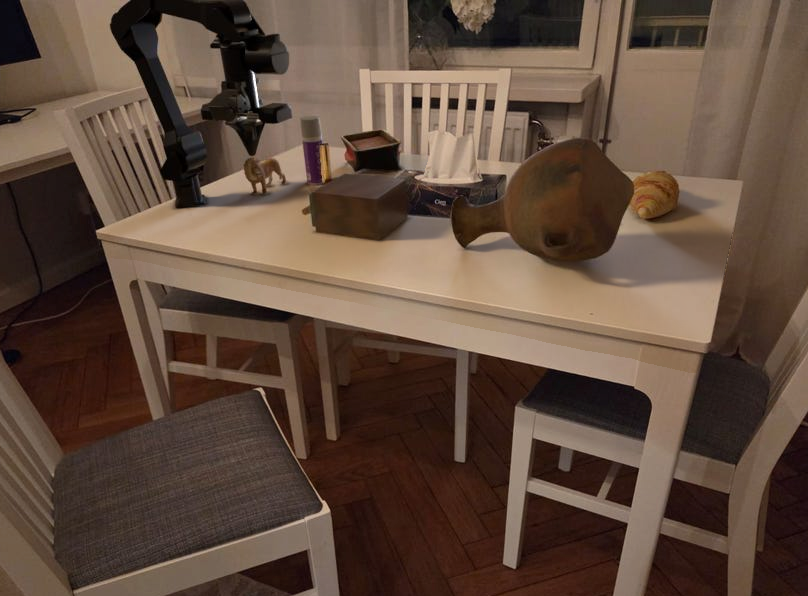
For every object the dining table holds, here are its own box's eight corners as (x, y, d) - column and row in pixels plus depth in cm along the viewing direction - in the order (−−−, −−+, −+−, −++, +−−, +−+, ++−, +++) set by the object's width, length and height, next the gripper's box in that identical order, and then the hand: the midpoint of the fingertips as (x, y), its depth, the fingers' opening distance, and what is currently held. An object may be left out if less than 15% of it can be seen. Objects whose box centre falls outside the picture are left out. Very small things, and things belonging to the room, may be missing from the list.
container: (323, 185, 151) (316, 120, 143) (304, 185, 152) (297, 120, 143) (328, 179, 154) (322, 115, 146) (310, 179, 155) (303, 115, 147)
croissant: (657, 242, 120) (686, 208, 115) (612, 213, 121) (639, 179, 115) (665, 204, 136) (691, 173, 131) (625, 179, 137) (649, 147, 131)
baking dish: (350, 185, 156) (351, 146, 149) (338, 157, 169) (339, 119, 163) (406, 183, 159) (409, 144, 152) (390, 155, 172) (393, 118, 165)
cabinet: (316, 231, 124) (311, 192, 120) (347, 210, 134) (344, 173, 130) (378, 240, 119) (376, 199, 115) (407, 218, 129) (406, 179, 124)
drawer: (294, 224, 127) (290, 192, 123) (325, 205, 135) (321, 175, 132) (370, 234, 120) (368, 201, 116) (397, 214, 128) (396, 182, 125)
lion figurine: (263, 200, 143) (257, 160, 138) (243, 199, 145) (236, 159, 140) (290, 181, 155) (285, 143, 150) (271, 180, 156) (265, 143, 152)
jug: (644, 251, 108) (483, 252, 124) (648, 131, 103) (479, 148, 119) (614, 273, 92) (435, 270, 108) (617, 132, 86) (427, 151, 103)
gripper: (174, 79, 119) (191, 162, 128) (253, 81, 112) (266, 169, 120) (211, 70, 128) (226, 149, 136) (288, 72, 120) (298, 155, 129)
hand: (252, 155), depth 130 cm, fingers closed
